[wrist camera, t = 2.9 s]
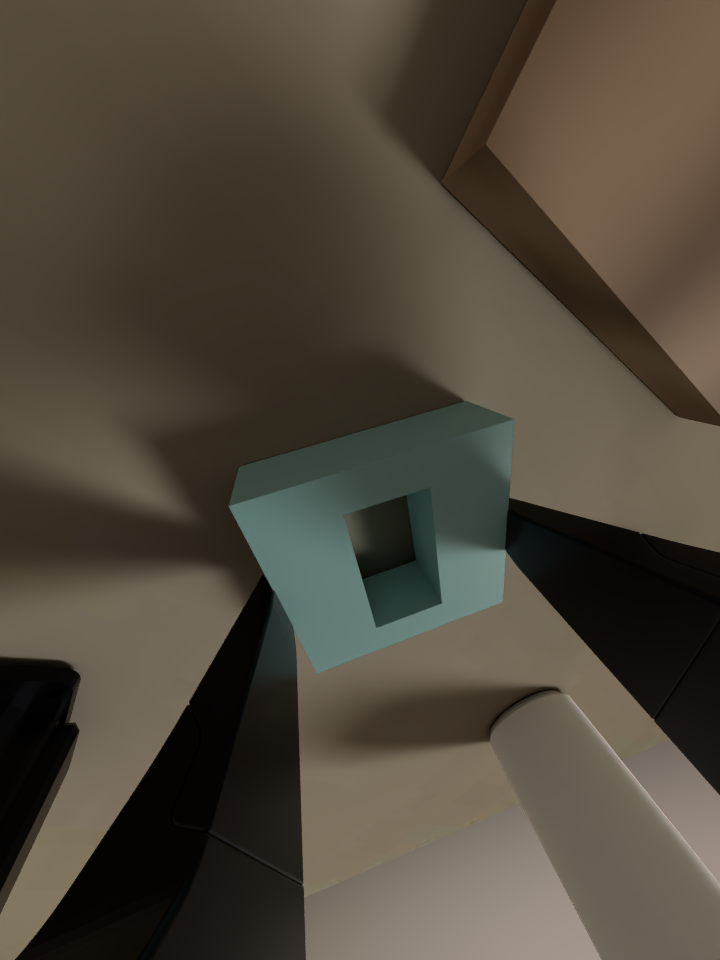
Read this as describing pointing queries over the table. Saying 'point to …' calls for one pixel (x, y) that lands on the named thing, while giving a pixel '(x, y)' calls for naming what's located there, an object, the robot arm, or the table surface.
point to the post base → (612, 178)
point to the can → (606, 836)
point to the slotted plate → (370, 481)
